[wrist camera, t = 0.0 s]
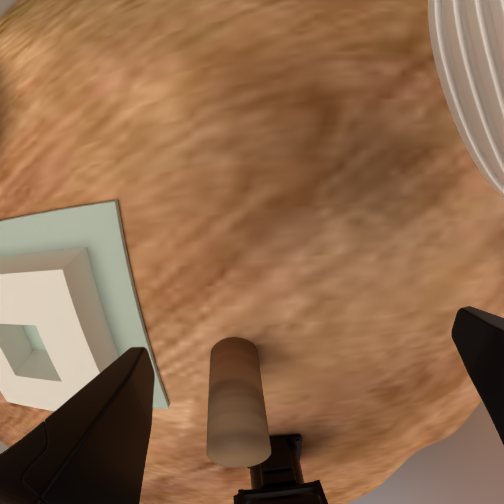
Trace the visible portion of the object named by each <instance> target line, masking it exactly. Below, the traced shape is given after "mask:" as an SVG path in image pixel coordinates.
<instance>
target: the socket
mask: <svg viewBox="0 0 504 504" xmlns="http://www.w3.org/2000/svg"><path fill="white" fill-rule="evenodd" d="M131 347H145V348H146V349H147V350H148V353H149V356H150V359H151V362H152V366H153V369H154V373H155V382H154V395H153V408H161V409H169V402H168V399H167V396H166V393H165V390H164V387H163V384H162V381H161V378H160V375H159V372H158V369H157V366H156V363H155V359H154V356H153V353H152V350H151V346H150V343H149V339H148V336H147V332H146V329H145V325H144V321H143V318H142V314H141V310H140V306H139V302H138V298H137V294H136V290H135V286H134V281H133V277H132V273H131V268H130V263H129V259H128V254H127V249H126V244H125V239H124V234H123V228H122V222H121V217H120V211H119V205H118V200H113V201H106V202H99V203H92V204H86V205H79V206H73V207H67V208H61V209H56V210H50V211H44V212H39V213H34V214H28V215H23V216H18V217H13V218H8V219H4V220H0V391H1V393H2V394H3V396H4V398H5V399H6V401H7V402H11V403H15V404H20V405H25V406H29V407H35V408H40V409H45V410H51V411H56V410H57V409H58V408H59V407H60V406H62V405H63V404H64V403H65V402H66V401H67V400H69V399H70V398H71V397H72V396H73V395H75V394H76V393H77V392H78V391H79V390H80V389H82V388H83V387H84V386H85V385H86V384H88V383H89V382H90V381H91V380H92V379H93V378H95V377H96V376H97V375H98V374H99V373H101V372H102V371H103V370H104V369H105V368H107V367H108V366H109V365H110V364H111V363H112V362H114V361H115V360H116V359H117V358H118V357H120V356H121V355H122V354H123V353H124V352H126V351H127V350H128V349H129V348H131Z"/></svg>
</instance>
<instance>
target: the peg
mask: <svg viewBox="0 0 504 504" xmlns="http://www.w3.org/2000/svg"><path fill="white" fill-rule="evenodd" d="M270 454H271V446H270V439H269V432H268V424H267V417H266V410H265V403H264V396H263V389H262V381H261V374H260V367H259V359H258V352H257V349H256V347H255V346H254V345H253V344H252V343H251V342H249V341H248V340H245V339H242V338H227V339H223V340H221V341H219V342H218V343H217V344H215V346H214V347H213V348H212V350H211V357H210V376H209V397H208V422H207V456H208V458H209V459H210V460H211V461H213V462H214V463H216V464H218V465H221V466H225V467H231V468H244V467H250V466H254V465H257V464H260V463H262V462H264V461H265V460H266V459H268V457H269V456H270Z"/></svg>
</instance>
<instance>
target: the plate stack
mask: <svg viewBox="0 0 504 504" xmlns="http://www.w3.org/2000/svg"><path fill="white" fill-rule="evenodd" d="M428 24H429V33H430V40H431V46H432V51H433V56H434V60H435V64H436V69H437V72H438V76H439V80H440V83H441V86H442V90H443V93H444V96H445V99H446V102H447V105H448V107H449V110H450V113H451V115H452V118H453V120H454V123H455V125H456V128H457V130H458V132H459V134H460V137H461V139H462V141H463V143H464V145H465V147H466V149H467V151H468V153H469V154H470V156H471V158H472V160H473V161H474V163H475V164H476V166H477V168H478V169H479V171H480V172H481V173H482V175H483V176H484V177H485V179H486V180H487V181H488V182H489V184H490V185H491V186H492V187H493V188H494V189H495V190H496V191H497V192H498V193H500V194H501V195H502V196H503V197H504V0H428Z"/></svg>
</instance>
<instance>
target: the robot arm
mask: <svg viewBox="0 0 504 504" xmlns="http://www.w3.org/2000/svg"><path fill="white" fill-rule="evenodd" d="M452 339H453V341H454V343H455V345H456V347H457V349H458V351H459V354H460V356H461V358H462V360H463V363H464V365H465V367H466V369H467V372H468V374H469V376H470V378H471V380H472V382H473V384H474V385H475V387H476V389H477V391H478V393H479V395H480V397H481V399H482V401H483V402H484V404H485V407H486V409H487V410H488V412H489V414H490V417H491V419H492V421H493V423H494V425H495V427H496V429H497V431H498V433H499V436H500V438H501V440H502V442H503V444H504V318H502V317H499V316H496V315H493V314H491V313H488V312H485V311H482V310H479V309H476V308H474V307H471V306H468V307H464V308H460V309H459V310H458V312H457V314H456V318H455V321H454V325H453V328H452ZM154 382H155V373H154V369H153V366H152V362H151V359H150V356H149V353H148V350H147V349H146V348H145V347H131V348H129V349H128V350H127V351H126V352H124V353H123V354H122V355H121V356H120V357H118V358H117V359H116V360H115V361H114V362H112V363H111V364H110V365H109V366H108V367H107V368H105V369H104V370H103V371H102V372H101V373H99V374H98V375H97V376H96V377H95V378H93V379H92V380H91V381H90V382H89V383H88V384H86V385H85V386H84V387H83V388H82V389H80V390H79V391H78V392H77V393H76V394H75V395H73V396H72V397H71V398H70V399H69V400H67V401H66V402H65V403H64V404H63V405H62V406H60V407H59V408H58V409H57V410H56V411H54V412H53V413H52V414H51V415H50V416H49V417H47V418H46V419H45V422H44V421H43V422H41V423H40V424H39V425H38V426H37V427H35V428H34V429H33V430H32V431H31V432H29V433H28V434H27V435H26V436H24V437H23V438H22V439H21V440H19V441H18V442H17V443H15V444H14V445H13V446H11V447H10V448H8V449H7V450H6V451H4V452H3V453H1V454H0V504H139V501H140V494H141V487H142V480H143V474H144V468H145V461H146V455H147V449H148V444H149V438H150V432H151V425H152V410H153V395H154ZM269 439H270V446H271V454H270V456H269V457H268V459H266V460H265V461H264V462H262V463H260V464H257V465H254V466H250V467H247V468H249V469H250V474H251V486H252V489H251V490H243V489H240V490H238V494H237V495H235V496H234V504H328V502H327V500H326V497H325V494H324V491H323V489H322V486H321V483H320V480H316V481H314V482H308V483H304V479H303V475H302V470H301V465H300V453H301V443H302V437H301V435H290V436H283V437H274V438H269Z"/></svg>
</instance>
